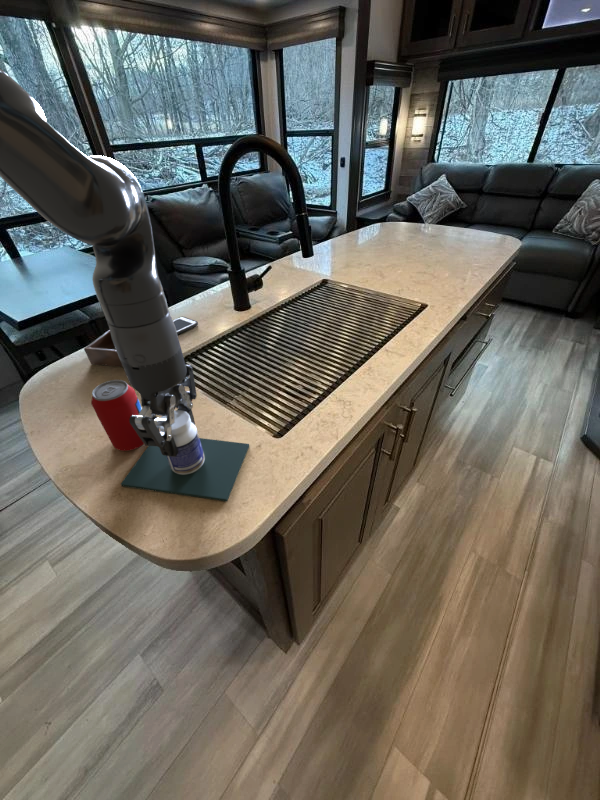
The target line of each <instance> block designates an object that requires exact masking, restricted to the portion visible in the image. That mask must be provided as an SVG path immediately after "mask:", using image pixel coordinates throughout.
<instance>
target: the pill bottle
mask: <svg viewBox="0 0 600 800" xmlns="http://www.w3.org/2000/svg"><path fill="white" fill-rule="evenodd" d="M160 418H164V419H167V417H166V416H160ZM174 419H175V422H174V424H173V425H172V437H173V438H174V441H175V444H176V447H177V449H178V454H177V456H176V457H171V456H166V457H167V459H168V462H169V464H170V467H171V469H172V470H173V471H174V472H175V473H177V474H181V475H186V474H190V473H193V472H195V471H197V470H198V469H199V468H200V467H201V466H202V465H203V463H204V460H205V457H204V452H203V449H202V445H201V442H200V438H201V437H200V436H199V435H200V434H199V433H198V432H199V431H198V428H197V426H196V424H195V425H194V424H193V423H192V422H191V419H190V416H189V414H188V413H187V412H185V411H182V410H177V409H175V410H174ZM159 431H160V432H164V427H163V426H159Z"/></svg>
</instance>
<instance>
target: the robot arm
mask: <svg viewBox="0 0 600 800" xmlns="http://www.w3.org/2000/svg"><path fill="white" fill-rule="evenodd" d="M0 178H1V179H2V180H3V181H4V182H5V183H6V184H7V185H8V186H9V187H10V188H11V189H12V190H13V191H14V192H15V193H17V194H18V195H19V196H20V197H21V198H22V199H23V200H24V201H25V202H26V203H27V204H28V205H29V206H30V207H32V208H33V210H35V211H36V212H37V213H38V214H39V215H40V216H41V217H43V218H44V219H45V220H46V221H48V223H50V224H51V225H52V226H54V227H55V228H56V229H58V230H59V231H61V232H63V233H64V234H66V235H67V236H69V237H71V238H73V239H75V240H77V241H79V242H82V243H83V244H86V245H90V246H92V249H93V253H94V257H95V267H94V270H93V273H92V277H91V278H92V285H93V289H94V292H95V295H96V298H97V300H98V302H99V305H100V307H101V310H102V313H103V315H104V317H105V320H106V322H107V326H108V328H109V329H108V330H110V333H111V338H112V341H113V344H114V346H115V348H114V349H115V350H116V351H117V353H118V356H119V358H120V361H121V363H122V366H123V367H122V368H123V370H124V373H125V375H126V378H127V380H128V383H129V386H131V387H132V388H133V389H134V390H135V392H137V393H138V394H139V395H140V401H141V403H140V405H141V407H142V410H141V411H140V413H139V414H138V416H137V415H132V416H131V417H130V419H129V422H130V424H131V425H132V427H133V428H134V430H135V431H136V433H137V434H138V436H139V437H140V439H141V440H142V442H143V443H144V446H147V447H148V446H158V447H159V448H160V451H161V453H162V455H164V456H171V457H176V456H177V454H178V449H177V447H176V444H175V441H174V438H173V437H172V425H173V424H174V422H175V419H174V411H175V410H182V411H185V412H187V413H188V414H189V416H190V419H191V422H192V423H193V424H194V425H195V426H196V421H195V417H194V414H193V407H194V406H193V405H194V404H193V400H196V399H197V390H196V389H197V388H196V382H195V375H194V369H193V366H192V365H191V364H186V362H185V357H184V355H183V350H182V346H181V342H180V339H179V334H178V335H177V331H176V328H175V325H174V322H173V320H174V319H173V318H172V316H171V313H170V310H169V306H168V303H167V302H168V301H167V298H166V295H165V292H164V287H163V285H162V282H161V279H160V275H159V271H158V266H157V257H156V248H155V242H154V233H153V226H152V220H151V216H150V212H149V211H150V210H149V207H148V204H147V201H146V197H145V194H144V193H143V192H144V191H143V190H142V187H141V184H140V183H139V182H138V180H137V178H136V176H134V174H133V173H132V172H131V170H129V169H128V168H127V167H126V166H125V165H123V164H122V163H120V162H119V161H117V160H115V159H113V158H111V157H107V156H104V155H103V156H102V155H90V156H87V155H86V154H84V153H83V152H82V151H80V149H78V148H77V147H75V146H74V145H73V144H72V143H70V141H68V140H67V139H66V138H65V137H64V136H63V135H62V134H61V133H60V132H59V131H57V129H55V128H54V127H53V126H52V125H51V124H50V123H49V122H47V118H46V116H45V113H44V110H43V109H42V107H41V106H40V104H39V103H38V102H37V101H36V100H35V98H34V97H33V96H32V95H31V94H30V93H29V92H28V91H26V89H24V88H23V87H22V86H21V85H20V84H19V83H18V82H17V81H16V80H15V79H14V78H12V76H10V75H9V74H8V73H7V72H5V71H4V70H3V69H2V68H1V67H0ZM185 387H187V388H188V390H186V389H185ZM159 416H160V417H159ZM162 416H166V417H167V419H164V418H161V417H162ZM159 426H163V427H164V432H161V431H160V429H159Z"/></svg>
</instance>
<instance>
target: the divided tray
mask: <svg viewBox="0 0 600 800" xmlns="http://www.w3.org/2000/svg"><path fill="white" fill-rule="evenodd" d="M83 350H84V352H85V355H86V356H87V358H88V361H89V363H90V365H95V366H96V365H97V366H106V367H107V366H108V367H118V368H119V367H121V368H123V366H122V363H121V361H120V358H119V356H118V353H117V351H116V348H115V346H114V344H113V341H112V338H111V333H110V329H108V330H107V331H105V332H104V333H103V334H102V335H100V336H99V337H97V338H96V339H94V340H93V341H92V342H91V343H89V344H88V345H87V346H85V347H84V348H83Z"/></svg>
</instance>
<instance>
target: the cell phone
mask: <svg viewBox="0 0 600 800" xmlns="http://www.w3.org/2000/svg"><path fill="white" fill-rule="evenodd" d="M172 320H173V322H174V325H175V328H176V331H177V335H178V336H179V335H180V334H182V333H185V332H186V331H189V330H191V329H193V328H194V327H197V326H199V322H198V321H197V320H194V319H191V318H189V317H186V316H183V315H182V316H179V317H176V318H174V319H172Z"/></svg>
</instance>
